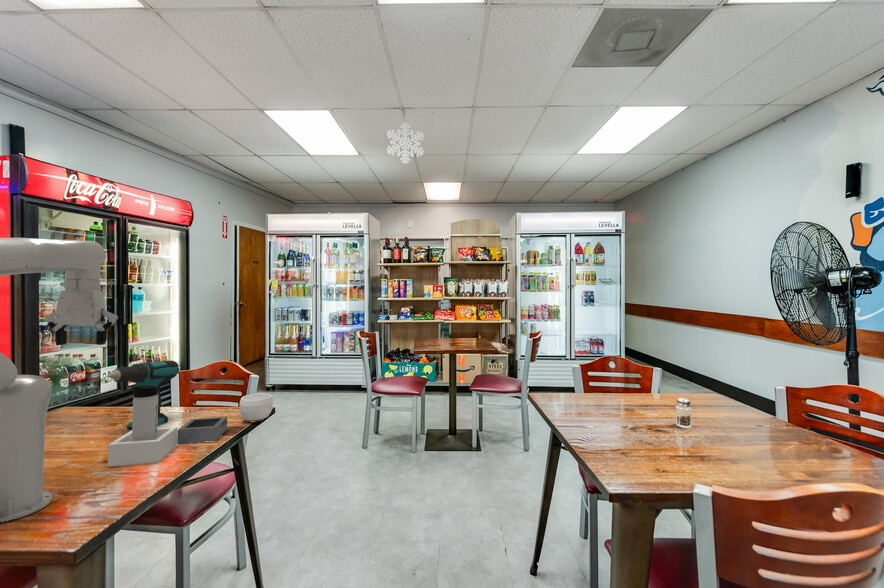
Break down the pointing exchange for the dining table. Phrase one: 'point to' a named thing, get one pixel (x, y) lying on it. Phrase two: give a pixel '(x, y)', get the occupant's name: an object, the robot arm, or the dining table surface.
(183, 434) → the socket block
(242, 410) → the cup
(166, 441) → the light grey square tray
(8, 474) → the robot arm
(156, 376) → the power drill
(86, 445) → the dining table surface
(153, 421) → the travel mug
